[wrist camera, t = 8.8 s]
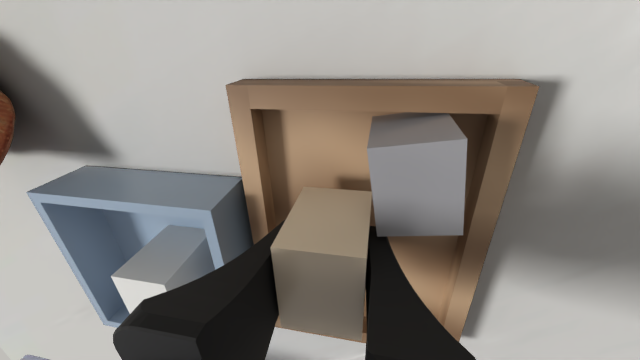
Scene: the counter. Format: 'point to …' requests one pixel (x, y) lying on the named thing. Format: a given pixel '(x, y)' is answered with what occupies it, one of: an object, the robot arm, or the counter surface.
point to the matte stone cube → (417, 174)
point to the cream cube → (323, 262)
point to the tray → (353, 168)
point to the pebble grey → (164, 264)
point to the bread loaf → (6, 125)
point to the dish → (136, 221)
